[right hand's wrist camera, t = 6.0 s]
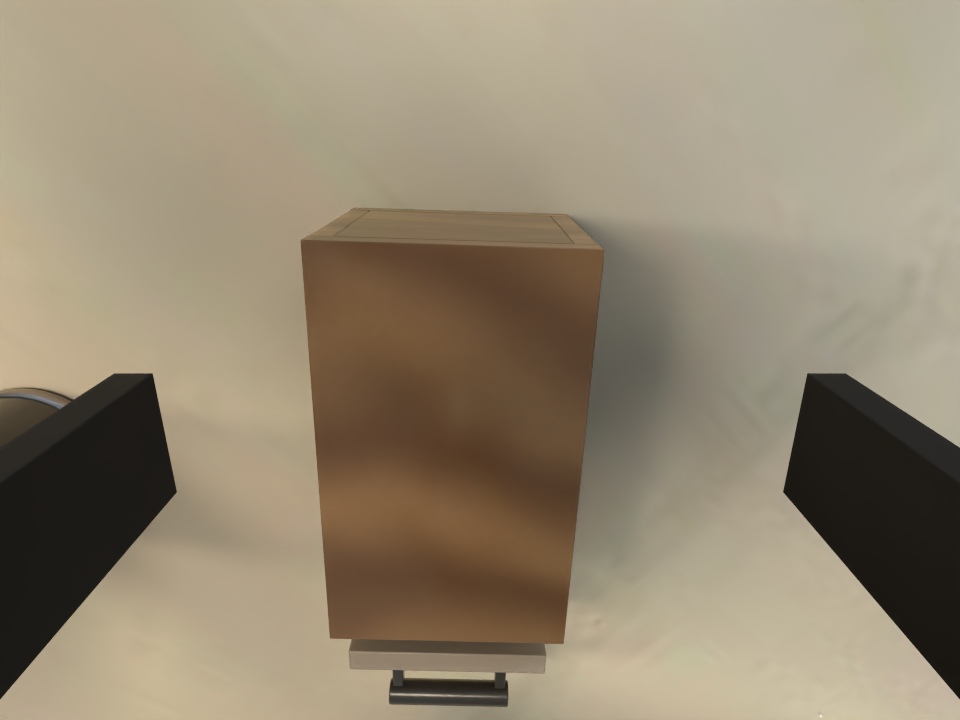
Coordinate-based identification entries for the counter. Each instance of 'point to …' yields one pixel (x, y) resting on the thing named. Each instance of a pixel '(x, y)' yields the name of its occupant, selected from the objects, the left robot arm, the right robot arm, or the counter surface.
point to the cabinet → (450, 418)
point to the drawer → (447, 668)
